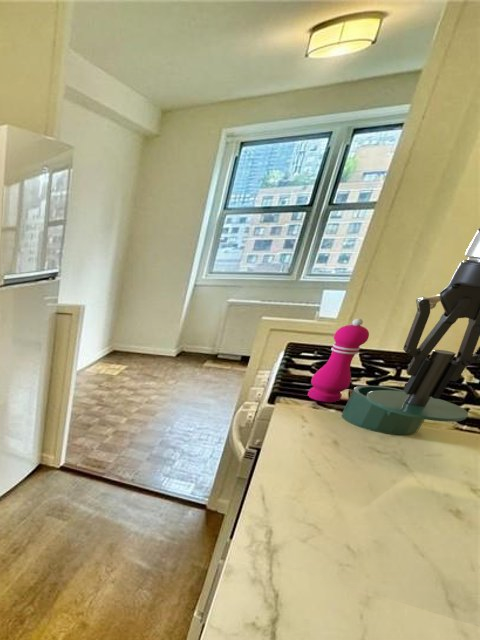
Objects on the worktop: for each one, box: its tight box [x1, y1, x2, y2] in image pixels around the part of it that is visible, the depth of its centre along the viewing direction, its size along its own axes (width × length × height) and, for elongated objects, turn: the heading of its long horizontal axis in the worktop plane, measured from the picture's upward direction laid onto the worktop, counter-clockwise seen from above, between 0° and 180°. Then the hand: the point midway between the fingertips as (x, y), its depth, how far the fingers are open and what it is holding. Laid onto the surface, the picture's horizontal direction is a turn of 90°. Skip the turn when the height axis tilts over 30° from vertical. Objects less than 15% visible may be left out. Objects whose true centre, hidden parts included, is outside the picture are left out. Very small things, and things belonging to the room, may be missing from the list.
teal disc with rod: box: [366, 349, 469, 423], centre depth 89 cm, size 14×14×11 cm
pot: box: [341, 385, 425, 436], centre depth 108 cm, size 13×18×6 cm
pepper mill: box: [307, 318, 370, 404], centre depth 117 cm, size 7×7×20 cm
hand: (420, 394), depth 90 cm, fingers closed on teal disc with rod, 3 cm apart
